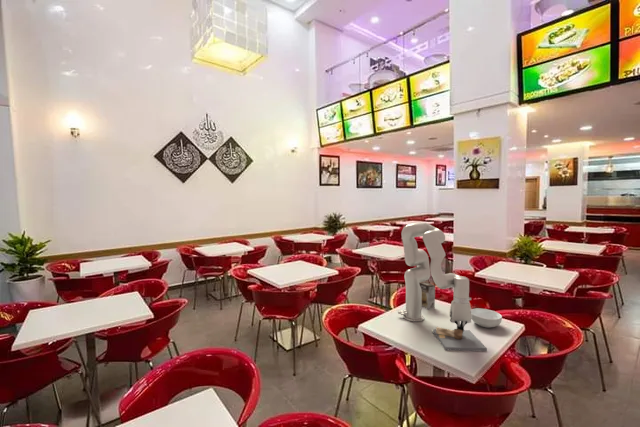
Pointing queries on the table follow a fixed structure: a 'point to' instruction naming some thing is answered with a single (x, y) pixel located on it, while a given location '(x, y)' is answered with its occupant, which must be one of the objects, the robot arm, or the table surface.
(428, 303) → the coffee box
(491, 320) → the cereal bowl
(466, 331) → the grey flat square slab
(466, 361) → the table surface
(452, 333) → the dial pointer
